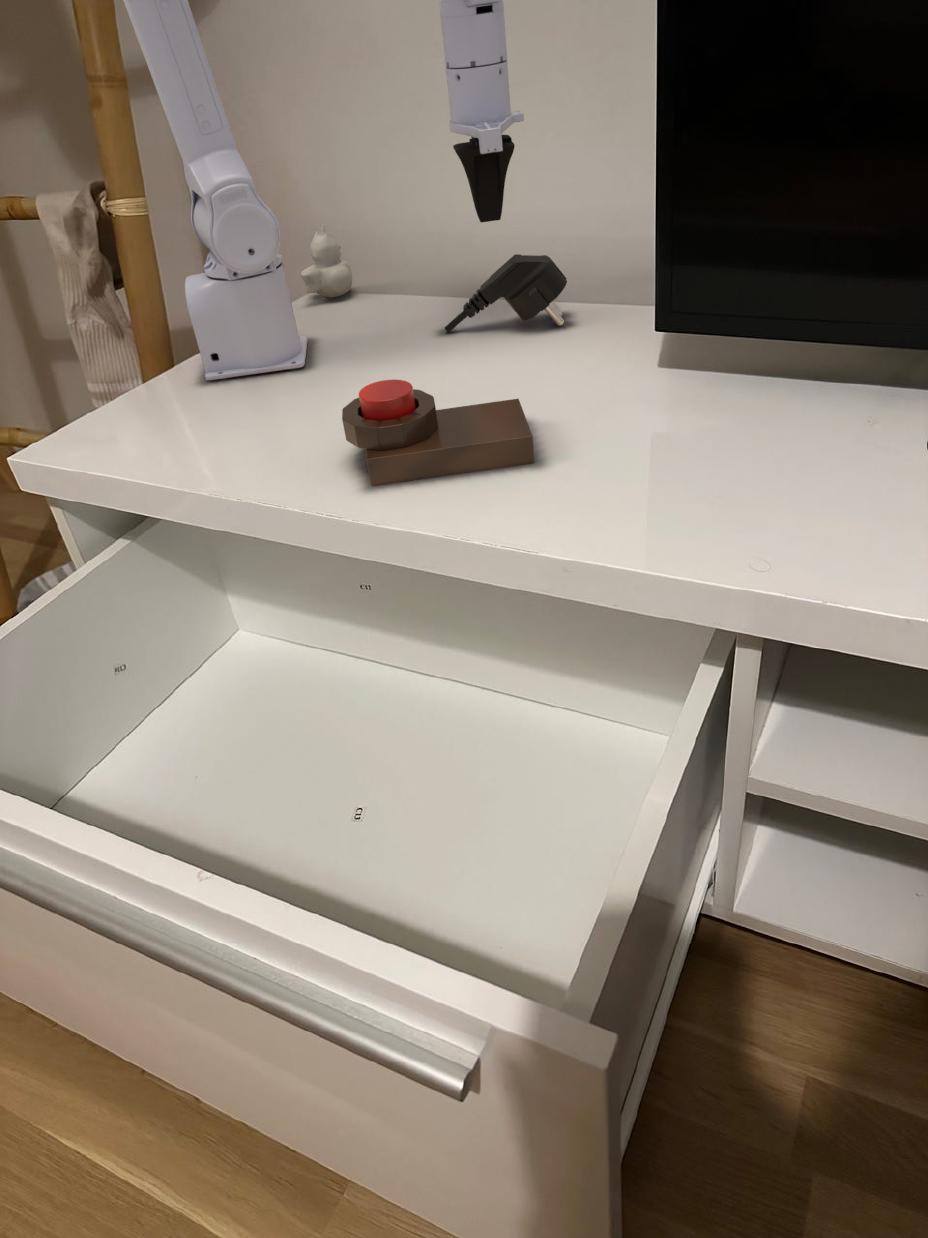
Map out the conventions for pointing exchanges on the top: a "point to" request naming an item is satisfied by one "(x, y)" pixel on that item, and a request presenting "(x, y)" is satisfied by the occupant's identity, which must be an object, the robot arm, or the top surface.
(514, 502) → the top surface
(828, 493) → the top surface
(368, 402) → the light button
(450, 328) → the power plug
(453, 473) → the switch box
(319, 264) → the rubber duck
